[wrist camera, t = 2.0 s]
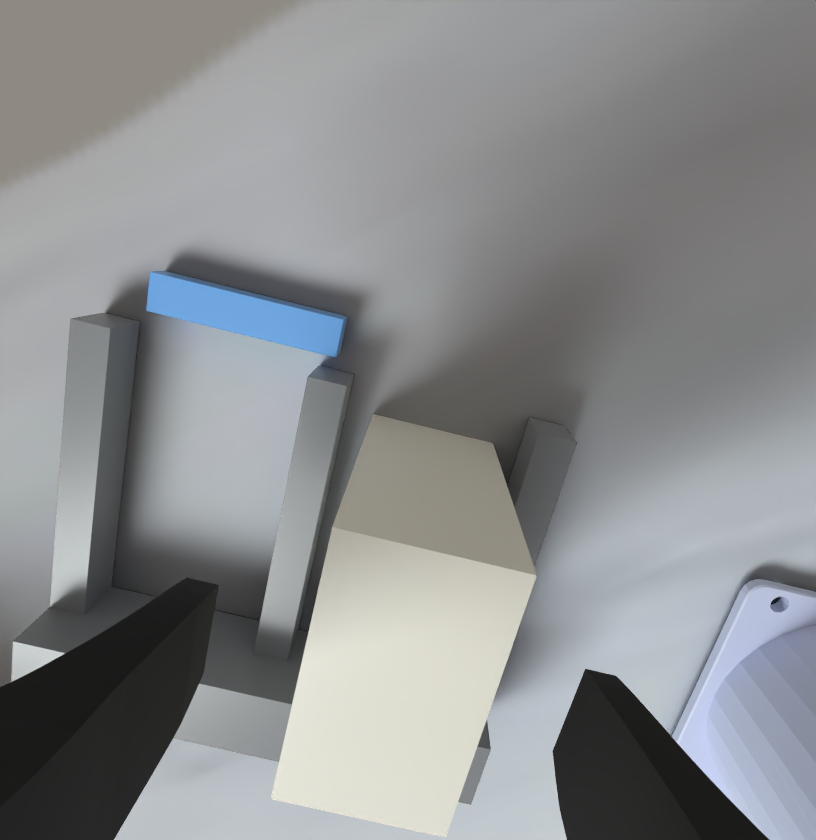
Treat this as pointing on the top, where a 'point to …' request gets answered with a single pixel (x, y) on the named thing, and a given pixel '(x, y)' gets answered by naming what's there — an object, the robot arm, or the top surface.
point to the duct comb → (292, 557)
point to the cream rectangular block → (407, 631)
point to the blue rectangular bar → (245, 313)
